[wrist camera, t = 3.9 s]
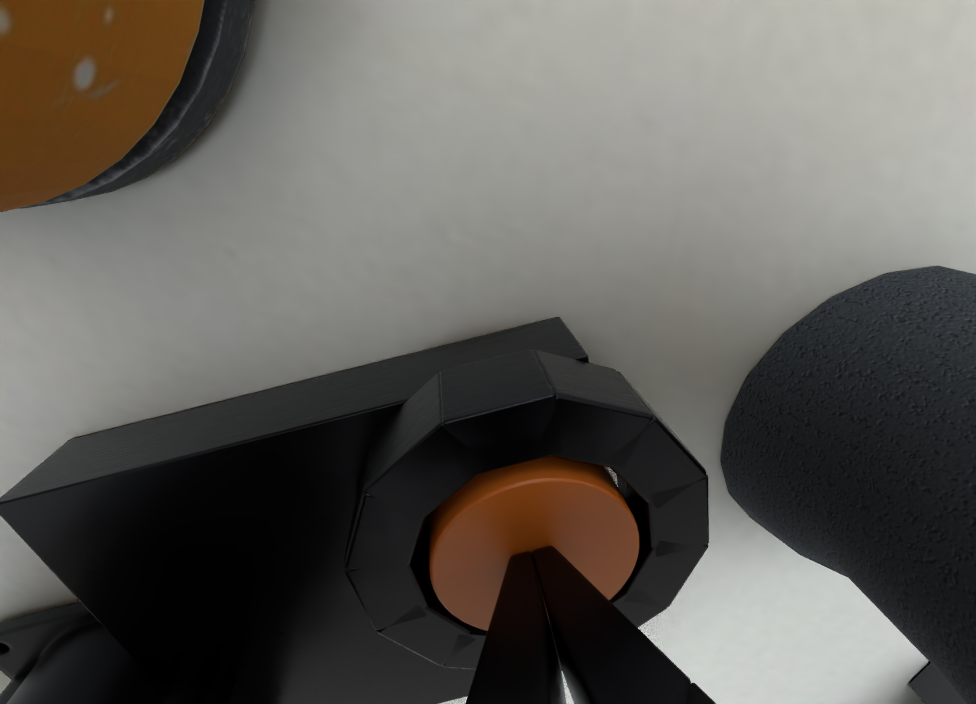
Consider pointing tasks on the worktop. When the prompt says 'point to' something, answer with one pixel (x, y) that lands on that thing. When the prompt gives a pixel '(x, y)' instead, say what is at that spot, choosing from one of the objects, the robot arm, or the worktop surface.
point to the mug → (875, 453)
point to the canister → (108, 89)
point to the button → (529, 531)
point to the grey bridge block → (934, 688)
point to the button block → (343, 516)
